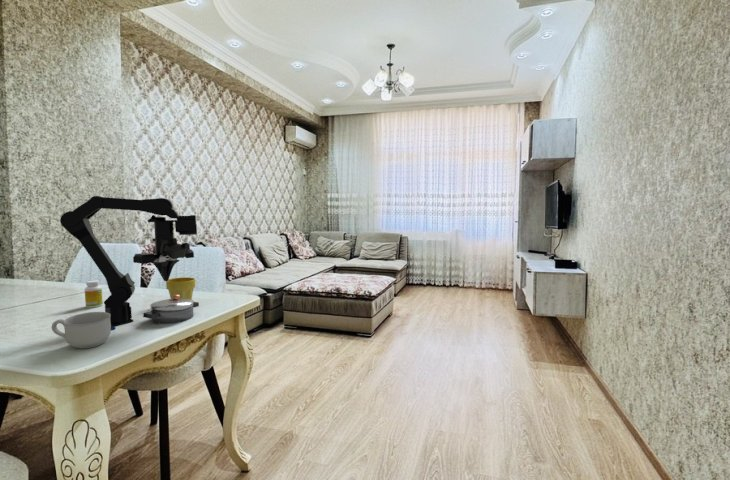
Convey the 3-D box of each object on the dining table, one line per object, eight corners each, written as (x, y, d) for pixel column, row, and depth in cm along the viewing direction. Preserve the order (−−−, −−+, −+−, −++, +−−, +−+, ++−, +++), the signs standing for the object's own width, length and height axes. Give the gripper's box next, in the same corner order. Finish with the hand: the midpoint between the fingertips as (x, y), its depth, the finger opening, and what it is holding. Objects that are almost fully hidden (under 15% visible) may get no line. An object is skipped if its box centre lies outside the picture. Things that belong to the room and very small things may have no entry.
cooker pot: (160, 327, 124) (160, 315, 124) (135, 322, 130) (135, 310, 130) (207, 314, 140) (206, 302, 139) (183, 309, 146) (182, 298, 146)
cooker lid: (167, 313, 126) (166, 305, 125) (142, 308, 132) (141, 300, 132) (201, 304, 137) (201, 297, 137) (177, 299, 144) (176, 292, 143)
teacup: (120, 338, 115) (118, 311, 114) (96, 351, 104) (94, 322, 104) (71, 338, 115) (69, 311, 114) (42, 352, 104) (40, 323, 103)
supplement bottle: (100, 307, 150) (99, 282, 149) (84, 308, 148) (82, 283, 147) (104, 303, 155) (102, 279, 154) (88, 305, 153) (86, 280, 152)
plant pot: (201, 301, 159) (200, 277, 158) (187, 307, 148) (186, 282, 147) (177, 300, 160) (175, 276, 159) (161, 307, 149) (160, 281, 148)
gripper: (152, 238, 121) (154, 288, 122) (203, 234, 137) (205, 278, 138) (131, 236, 126) (133, 284, 128) (183, 233, 142) (184, 275, 144)
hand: (166, 280), depth 134 cm, fingers closed
